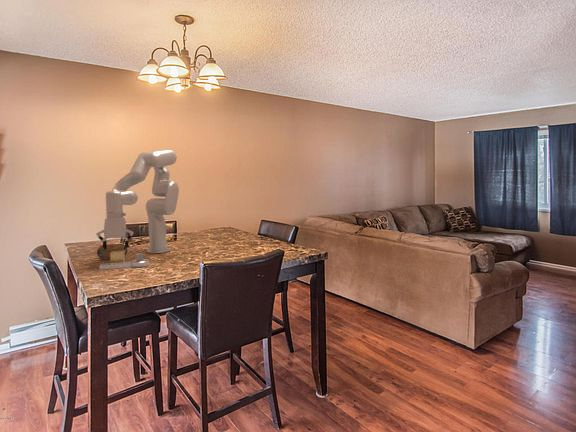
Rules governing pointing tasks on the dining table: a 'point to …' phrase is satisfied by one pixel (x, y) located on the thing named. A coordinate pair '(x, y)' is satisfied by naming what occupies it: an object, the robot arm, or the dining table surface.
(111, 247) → the tin
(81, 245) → the dining table surface
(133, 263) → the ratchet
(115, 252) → the tan wooden cube
